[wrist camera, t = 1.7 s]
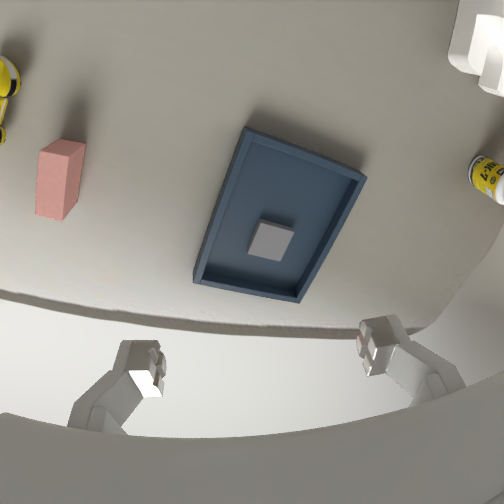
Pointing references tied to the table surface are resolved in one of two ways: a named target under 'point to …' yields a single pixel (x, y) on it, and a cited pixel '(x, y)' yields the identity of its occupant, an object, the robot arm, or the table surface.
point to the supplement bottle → (488, 177)
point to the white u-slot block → (480, 42)
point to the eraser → (59, 178)
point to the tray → (275, 217)
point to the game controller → (7, 88)
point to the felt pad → (269, 240)
